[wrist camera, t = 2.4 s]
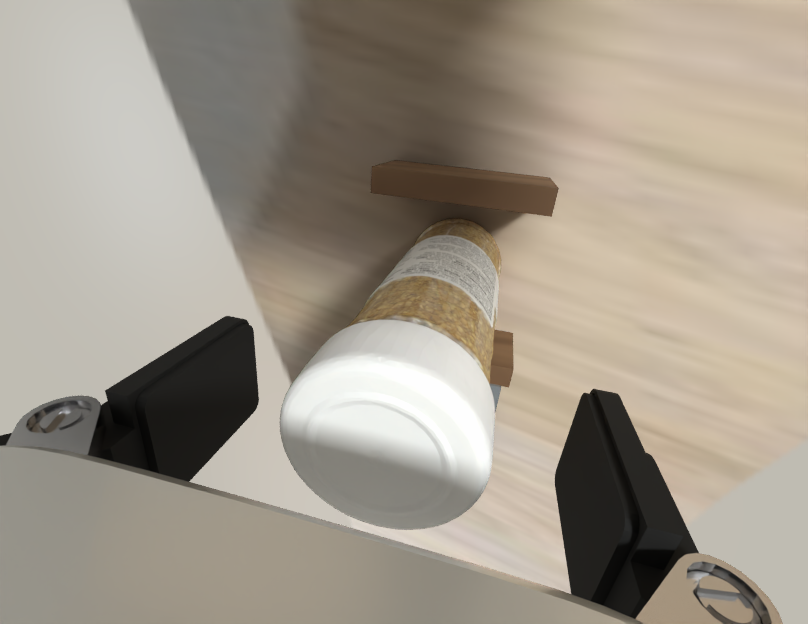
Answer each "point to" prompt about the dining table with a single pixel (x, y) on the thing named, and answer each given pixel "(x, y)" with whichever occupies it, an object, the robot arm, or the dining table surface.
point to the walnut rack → (471, 191)
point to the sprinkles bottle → (405, 389)
